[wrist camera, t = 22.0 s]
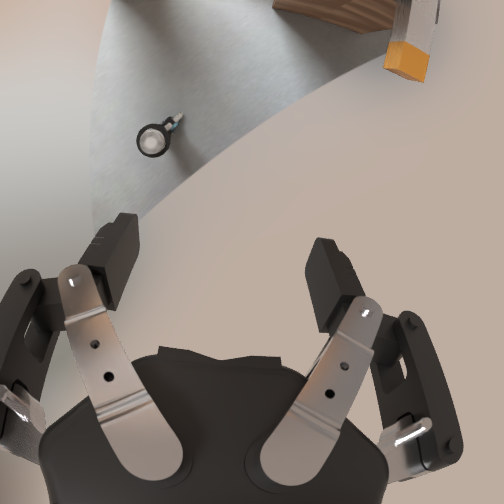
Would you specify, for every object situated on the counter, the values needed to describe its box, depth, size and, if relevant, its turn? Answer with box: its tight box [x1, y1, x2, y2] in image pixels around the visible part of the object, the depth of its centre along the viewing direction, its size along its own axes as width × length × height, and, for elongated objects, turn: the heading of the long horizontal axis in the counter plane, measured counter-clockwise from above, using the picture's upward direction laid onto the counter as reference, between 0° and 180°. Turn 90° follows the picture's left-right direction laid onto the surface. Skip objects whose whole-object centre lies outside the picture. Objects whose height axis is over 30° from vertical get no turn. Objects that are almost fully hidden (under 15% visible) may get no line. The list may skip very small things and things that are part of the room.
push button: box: [136, 112, 183, 158], centre depth 39 cm, size 7×5×10 cm
